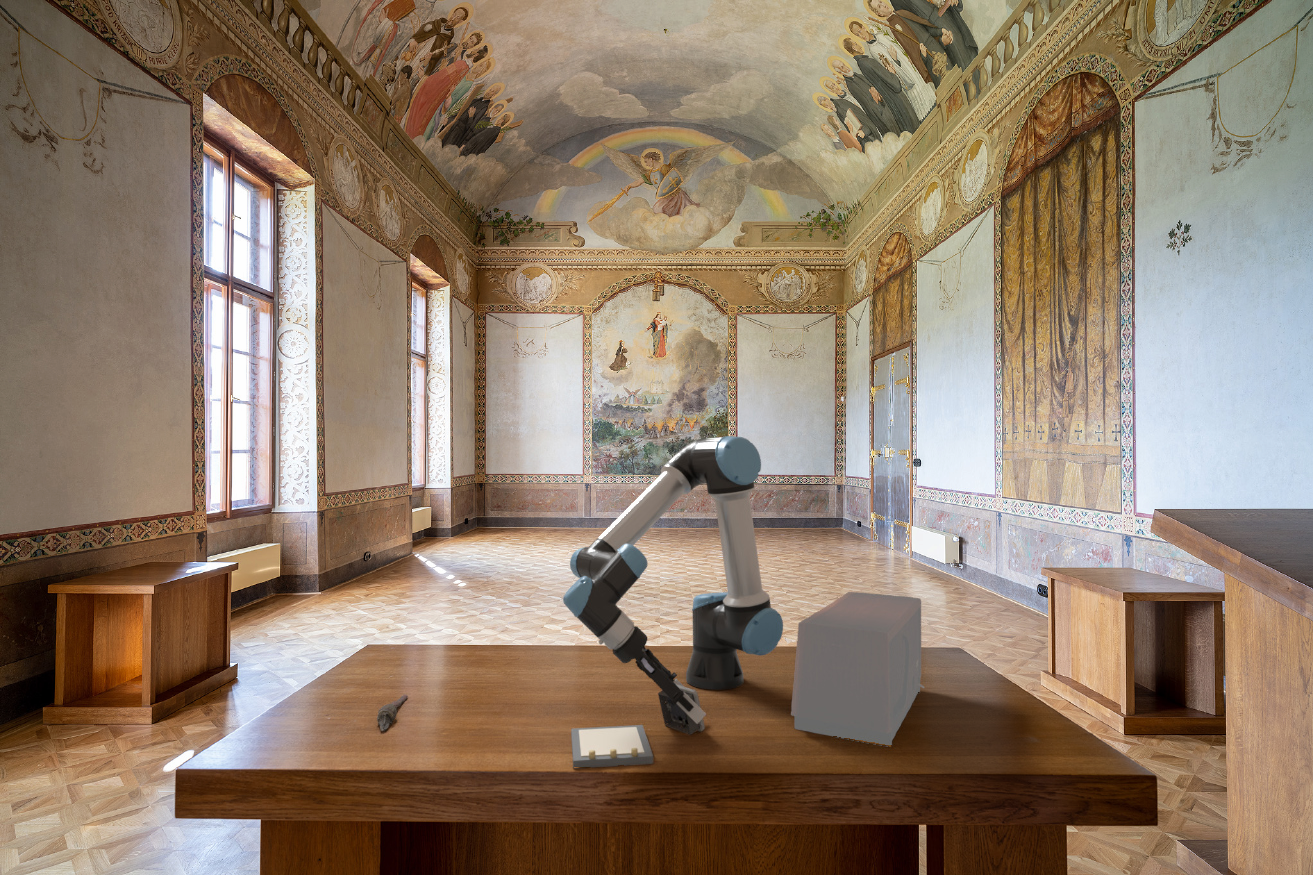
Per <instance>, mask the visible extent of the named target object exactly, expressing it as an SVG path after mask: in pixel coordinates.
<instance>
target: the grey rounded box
mask: <svg viewBox="0 0 1313 875" xmlns="http://www.w3.org/2000/svg"><path fill="white" fill-rule="evenodd" d="M797 628H798V629H797V639H796V649H795V660H794V672H793V678H794V679H793V682H792V683H793V686H792V697H791V698H792V699H791V712H790V715H791V716H792V717H793V716H794V729H795V730H799V731H804V732H809V733H814V734H818V735H825V736H830V737H833V736H837V737H836V738H839V737H841V738H840V739H844V738H850V739H855V740H863V741H867V742H875V743H879V744H885V745H892V746H893V743H892V742H893V739H894V738H895V736H896V734H897V732H898V730H899V729H900V728H901V725H902V723H903V721H904V719H905V718H906V717H907V714H908V712H909V711H910V710H911V708H912V705H913V703H914V701H915V699H916V697H917V695H918V694H919V693H918V692H920V693H921V688H922V689H925V686H924V685H923V684H921V678H922V599H921V598H919V597H913V596H902V595H893V594H892V595H891V594H883V593H882V594H881V593H880V594H879V593H870V592H869V593H868V592H858V591H857V592H855V591H848V592H847V593H845V594H843V595H842V596H840V597H839V598H837V599H836V600H834V601H833V602H831V603H829V604H827V605H826V606H824V607H823V608H821V609H820V610H818V611H816V612H814V613H813V614H811V615H810V616H809V617H806V618H804V619H803V620H801V621H800V622H798V627H797Z"/></svg>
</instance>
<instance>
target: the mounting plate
mask: <svg viewBox="0 0 1313 875" xmlns="http://www.w3.org/2000/svg"><path fill="white" fill-rule="evenodd" d="M570 729H571V732H570V733H571V734H570V737H571V752H572V753H571V754H572V756H571V757H572V768H574V767H591V768H603V767H604V768H605V767H619V766H618V765H624V766H638V765H653V764H654V755H653V751H652V749H651V745H650V743H649V740H648V737H647V734H646V731H645V728H644V726H643V724H637V725H636V724H634V725H615V726H614V725H613V726H612V725H611V726H598V727H597V726H596V727H594V726H593V727H577V728H576V727H575V728H570ZM574 769H575V768H574Z"/></svg>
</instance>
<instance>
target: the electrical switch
mask: <svg viewBox="0 0 1313 875" xmlns="http://www.w3.org/2000/svg"><path fill="white" fill-rule="evenodd" d="M676 685H677V684H676ZM677 686H678V687H679V689H680V690H681V691H683V692H685V693H686V694H687V695H688V696H689V697H690V698H691V699H692V700H693V701H694V702H695V703H696V704H697V705H698V706H699V707H700V708H701V704H700V699H699V698H700V697H699V694H698V692H697V690H695V689H694V688H689V687H686V686H684V685H683V686H684V687H683V686H680V685H677ZM657 694H658V700H659V704H660V708H661V709H660V710H661V714H662V718H663V722H664V726H665V727H668V728H670V729H673V730H676V731H679V732H681V733H684V734H687V735H689V736H691V735H693V733H695V732H697V731H698V732H703V731H704V730H705V726H706V725H705V723H704V722H705V721H704V718H703V719H702V720H701V721H700V722H699V723H698V724H697V723H695V722H694V721H693V720H692V719H691V718H690V717H689V716H688V715H687V714H686V713H685V712H684V711H683V710H682V709H681V708H680V707H679V706H678V705H677V704H675V705H674V706H673V705H672V704H671V703H672V702H673V701H672V700H671V699H670V698H669V697H668V695H667V694H666V693H665V692H664V691H663V690H662V689H661V691H659V692H658V693H657ZM676 694H677V693H676ZM676 694H675V695H676ZM675 695H674V696H675ZM701 709H702V708H701Z"/></svg>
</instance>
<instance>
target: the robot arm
mask: <svg viewBox="0 0 1313 875" xmlns="http://www.w3.org/2000/svg"><path fill="white" fill-rule="evenodd" d="M761 470H762V459H761V456H760V453H759V450H758V448H757V447H756V446H755V445H754V444H753V442H751V441H750V440H749V439H747V438H745V437H741V436H734V435H729V436H728V435H726V436H718V437H716V436H715V437H703V438H698V439H696V440H693V441H690V442H689V443H688V444H686V445H684V447H682V448H681V449H680V450H679V451H677V452H676V453H675V454H674V455H673V456H672V457H671V458H670V459H669V460H668V461H667V462H666V463H665V464H663V466H661V468H660V474H659V475H658V476H657V477H656V478H655V480H654V481H653V482H652V483H650V485H649V486H647V487H646V488H645V489H644V490H643V491H642V493H641V494H640V495H639V496H638V497H636V498H635V499H634V501H633V502H632V503H631V504H630V505H629V506H628V507H627V508H626V509H625V510H623V512H622V513H620V515H618V517H617V518H616V519H615V520H614V521H613V522H612V523H611V524H610V525H609V526H608V527H607V528H606V529H605V530H604V531H603V532H602V533H601V534H600V536H598V537H597V538H596V539H595V540H594V541H593V542H592V543H591V544H590V545H589V546H585V547H580V548H578V549H576V550H575V551H574V552H573V553H572V555H571V557H570V560H569V565H570V570H571V572H572V574H573V575H574V576H575V577H577V578H578V579H577V580H576V581H575V582H574V583H573V584H572V585H571V586H570V587H569V588H568V590H566V592H565V594H564V595H563V599H562V600H563V601H562V602H563V604H564V605H565V607H567V609H568V610H569V611H570V612H571V613H572V614H573V617H575V618H577V619H578V620H579V621H580V622H581V623H582V624H583V625H584V626H585V627H586V628H587V629H588V630H589V631H590V632H591V633H592V635H594V636H595V637H597V639H599V640H598V644H599V645H603V644H604V646H606V648H607V649H609V650H611V651H612V654H613V655H614V656H615V657H616V658H617V659H618V660H619V661H620V662H621V663H622V664H627V663H630V662H631V661H632V660H636V661H635V664H636V667H638V669H639V670H640V671H642V672H643V673H644V674H646V676H648V678H649V679H651V681H653V682H654V683H655V684H656V686H658V687H659V688H660V690H661V691H662V690H663V691H664V692H665V693H666V694H667V695H668V697H669V698H670V699H671V700H672V701H673V702H672V703H671V704H672V705H673V706H674V705H675V704H677V705H678V706H679V707H680V708H681V709H682V710H683V711H684V712H685V713H686V714H687V715H688V716H689V717H690V718H691V719H692V720H693V721H694V722H695V723H697V724H698V723H699V722H700V721H701V720H702V719H703V720H704V717H706V716H707V714H706V712H705V711H704V710H703V709H702V708H700V707H701V706H700V707H699V706H698V705H697V704H696V703H695V702H694V701H693V700H692V699H691V698H690V697H689V696H688V695H687V694H686V693H685V692H683V691H681V690H680V689H679V687H678V686H677V685H680V686H683V687H685V686H684V685H683V684H682V682H680V680H678V679H677V676H678V674H677V673H676V672H675V671H674V672H673V673H672V672H671V670H669V669H668V668H667V667H666V666H664V665H663V663H661V662H660V660H659V659H658V658H657V657H656V656H655V655H654V653H653V652H652V650H650V649H649V648H646V645H647V642H648V636H647V634H645V633H644V632H643V630H641V628H640V627H638V626H635V622H634V621H633V620H632V619H631V618H630V617H629V616H628V615H627V614H626V613H625V612H624V611H623V610H622V609H620V608H619V607H618V605H617V604H618V603H619V602H620V600H621V599H622V598H623V596H624V595H625V594H626V593H627V592H628V591H629V590H630V589H631V587H632V586H633V585H634V584H635V583H636V582H637V581H638V580H639V579H640V578H641V576H642V574H643V573H644V572H645V570H646V569H647V568H648V565H649V564H648V560H647V557H646V556H645V554H644V553H643V552H642V551H641V550H640V549H639V548H638V547H636V546H634V545H636V544H637V543H638V541H640V540H641V538H642V537H644V535H645V534H646V533H647V532H648V531H649V530H650V529H651V528H652V527H653V526H654V525H655V523H656V522H658V521H659V520H660V519H661V517H662V516H663V515H664V514H665V513H666V512H667V511H668V510H669V509H670V508H671V507H672V506H673V505H674V504H675V502H677V501H678V499H679V498H681V497H682V495H688V494H690V492H692V490H693V489H695V488H696V487H698V486H700V485H705V484H706V489H707V495H708V496H710V497H711V499H713V500H714V502H715V503H714V504H715V508H716V517H717V523H718V525H717V526H718V531H719V538H720V544H721V552H722V561H723V566H724V567H723V568H724V575H725V581H726V589H727V591H726V592H725V591H724V592H709V593H702V594H697V595H696V596H694V598H693V600H692V601H693V602H692V610H691V612H692V653H691V655H690V656H691V657H690V658H689V662H688V666H687V669H686V671H685V672H686V673H685V674H686V675H685V676H686V677H685V682H687V684H689V685H690V686H692V687H695V688H699V689H704V690H714V691H715V690H718V691H720V690H731V689H735V688H738V687H740V686H742V685H743V684H744V672H743V669H742V665H741V662H740V659H739V655H738V652H737V650H738V651H741V652H744V653H746V654H748V655H754V656H766V655H768V654H770V653H772V652H773V651H774V650H775V648H776V647H777V646H778V645H779V642H780V640H781V639H782V635H783V632H784V622H783V617H782V615H781V614H780V613H779V612H778V611H777V610H776V609H775V608H772V605H771V599H770V598H771V597H770V594H768V592H766V591H765V590H764V589H763V584H762V577H761V571H760V564H759V556H758V550H757V549H758V548H757V541H756V533H755V527H754V519H753V512H752V505H751V504H752V503H751V498H750V496H751V494H752V492H753V491H754V490H755V483H754V482H755V481H756V480H758V477H759V475H760V474H759V473H760V472H761ZM676 684H677V685H676ZM676 693H677V694H676ZM675 694H676V695H675ZM674 695H675V696H674Z"/></svg>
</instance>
